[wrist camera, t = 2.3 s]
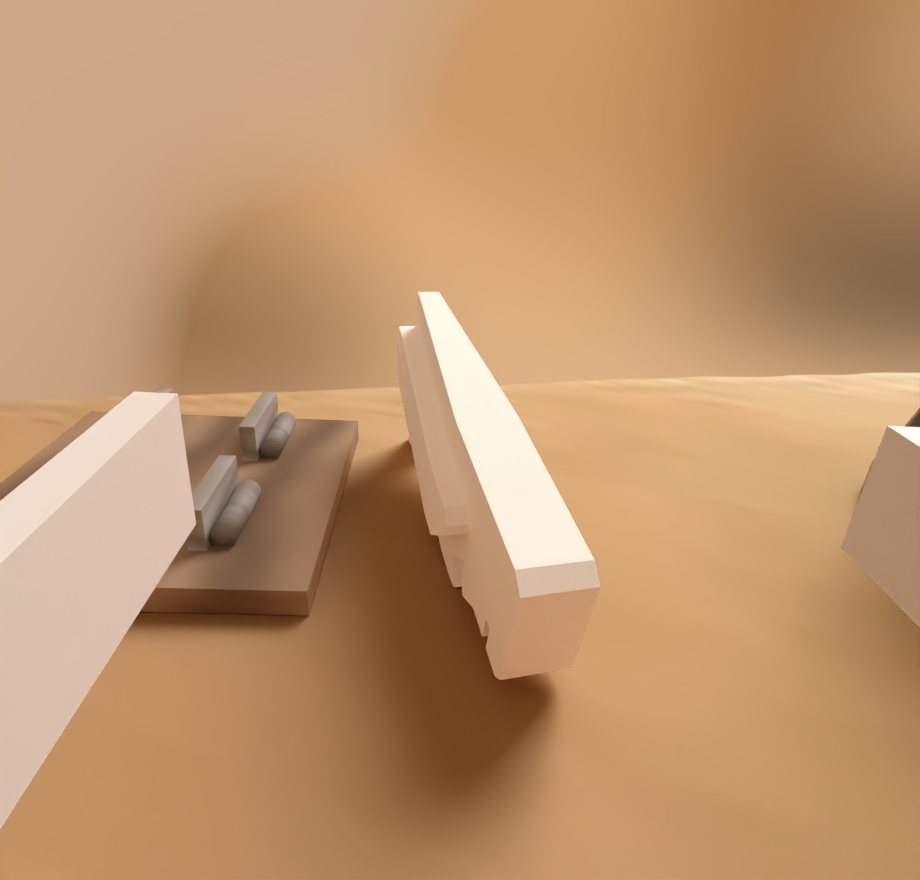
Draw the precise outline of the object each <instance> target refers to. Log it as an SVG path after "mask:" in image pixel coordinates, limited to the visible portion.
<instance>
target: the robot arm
mask: <svg viewBox="0 0 920 880" xmlns="http://www.w3.org/2000/svg"><path fill="white" fill-rule="evenodd" d="M195 525H196V519H195V512H194V505H193V498H192V491H191V484H190V477H189V470H188V463H187V456H186V449H185V442H184V435H183V428H182V421H181V414H180V407H179V400H178V394H174V393H153V392H133V393H132V394H130V395H129V396H128V397H127V398H125V399H124V400H123V401H122V402H121V403H119V404H118V405H117V406H116V407H114V408H113V409H112V410H111V411H110V412H108V413H107V414H106V415H105V416H103V417H102V418H101V419H100V420H99V421H97V422H96V423H95V424H94V425H92V426H91V427H90V428H89V429H88V430H86V431H85V432H84V433H83V434H81V435H80V436H79V437H78V438H77V439H75V440H74V441H73V442H72V443H70V444H69V445H68V446H67V447H65V448H64V449H63V450H62V451H61V452H59V453H58V454H57V455H56V456H54V457H53V458H52V459H51V460H50V461H48V462H47V463H46V464H45V465H43V466H42V467H41V468H40V469H39V470H37V471H36V472H35V473H34V474H32V475H31V476H30V477H29V478H28V479H26V480H25V481H24V482H23V483H21V484H20V485H19V486H18V487H17V488H15V489H14V490H13V491H12V492H10V493H9V494H8V495H7V496H6V497H4V498H3V499H2V500H1V501H0V829H1V827H2V826H3V824H4V822H5V821H6V819H7V818H8V816H9V815H10V813H11V812H12V810H13V808H14V807H15V805H16V804H17V802H18V801H19V799H20V798H21V796H22V794H23V793H24V791H25V790H26V788H27V787H28V785H29V784H30V782H31V780H32V779H33V777H34V776H35V774H36V773H37V771H38V769H39V768H40V766H41V765H42V763H43V762H44V760H45V759H46V757H47V755H48V754H49V752H50V751H51V749H52V748H53V746H54V745H55V743H56V741H57V740H58V738H59V737H60V735H61V734H62V732H63V731H64V729H65V727H66V726H67V724H68V723H69V721H70V720H71V718H72V717H73V715H74V713H75V712H76V710H77V709H78V707H79V706H80V704H81V703H82V701H83V699H84V698H85V696H86V695H87V693H88V692H89V690H90V689H91V687H92V685H93V684H94V682H95V681H96V679H97V678H98V676H99V674H100V673H101V671H102V670H103V668H104V667H105V665H106V664H107V662H108V660H109V659H110V657H111V656H112V654H113V653H114V651H115V650H116V648H117V646H118V645H119V643H120V642H121V640H122V639H123V637H124V636H125V634H126V632H127V631H128V629H129V628H130V626H131V625H132V623H133V622H134V620H135V618H136V617H137V615H138V614H139V612H140V611H141V609H142V608H143V606H144V604H145V603H146V601H147V600H148V598H149V597H150V595H151V593H152V592H153V590H154V589H155V587H156V586H157V584H158V583H159V581H160V579H161V578H162V576H163V575H164V573H165V572H166V570H167V569H168V567H169V565H170V564H171V562H172V561H173V559H174V558H175V556H176V555H177V553H178V551H179V550H180V548H181V547H182V545H183V544H184V542H185V541H186V539H187V537H188V536H189V534H190V533H191V531H192V530H193V528H194V527H195ZM841 548H842V549H843V550H844V551H845V552H846V553H847V554H848V555H849V556H850V557H851V558H852V559H853V560H854V561H855V562H856V563H857V564H858V565H859V566H860V567H861V568H862V569H863V570H864V571H865V572H866V573H867V574H868V575H869V576H870V577H871V578H872V579H873V581H874V582H875V583H876V584H877V585H878V586H879V587H880V588H881V589H882V590H883V591H884V592H885V593H886V594H887V595H888V596H889V597H890V598H891V599H892V600H893V601H894V602H895V603H896V604H897V605H898V606H899V607H900V608H901V609H902V610H903V611H904V612H905V613H906V614H907V615H908V616H909V618H910V619H911V620H912V621H913V622H914V623H915V624H916V625H917V626H918V627H919V628H920V408H919V409H918V410H917V412H916V413H915V414H914V415H913V417H912V418H911V419H910V420H909V421H908V423H907V424H906V425H905V426H887V428H886V430H885V433H884V436H883V438H882V441H881V444H880V446H879V449H878V451H877V454H876V457H875V458H874V460H873V462H872V464H871V466H870V468H869V471H868V474H867V476H866V479H865V482H864V484H863V487H862V493H861V496H860V499H859V501H858V504H857V506H856V509H855V512H854V514H853V517H852V520H851V522H850V525H849V527H848V530H847V533H846V535H845V538H844V540H843V543H842V546H841Z"/></svg>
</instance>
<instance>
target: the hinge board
mask: <svg viewBox="0 0 920 880" xmlns="http://www.w3.org/2000/svg"><path fill="white" fill-rule="evenodd" d="M154 393H173V391H172V389H163V388H158V389H157V390H156V391H155V392H154ZM107 413H108V412H90V413H89V414H87V415H86V416H85V417H84V418H82V419H81V420H80V421H79V422H77V423H76V424H75V425H74V426H72V427H71V428H70V429H69V430H67V431H66V432H65V433H63V434H62V435H61V436H60V437H58V438H57V439H56V440H55V441H53V442H52V443H51V444H50V445H48V446H47V447H46V448H45V449H43V450H42V451H41V452H40V453H38V454H37V455H36V456H34V457H33V458H32V459H31V460H29V461H28V462H27V463H26V464H24V465H23V466H22V467H21V468H19V469H18V470H17V471H16V472H14V473H13V474H12V475H11V476H9V477H8V478H7V479H6V480H4V481H3V482H2V483H0V501H1V500H2V499H3V498H4V497H6V496H7V495H8V494H9V493H10V492H12V491H13V490H14V489H15V488H17V487H18V486H19V485H20V484H21V483H23V482H24V481H25V480H26V479H28V478H29V477H30V476H31V475H32V474H34V473H35V472H36V471H37V470H39V469H40V468H41V467H42V466H43V465H45V464H46V463H47V462H48V461H50V460H51V459H52V458H53V457H54V456H56V455H57V454H58V453H59V452H61V451H62V450H63V449H64V448H65V447H67V446H68V445H69V444H70V443H72V442H73V441H74V440H75V439H77V438H78V437H79V436H80V435H81V434H83V433H84V432H85V431H86V430H88V429H89V428H90V427H91V426H92V425H94V424H95V423H96V422H97V421H99V420H100V419H101V418H102V417H103V416H105V415H106V414H107ZM181 421H182V428H183V435H184V442H185V449H186V456H187V463H188V470H189V477H190V484H191V491H192V498H193V505H194V512H195V519H196V525H195V527H194V528H193V530H192V531H191V533H190V534H189V536H188V537H187V539H186V541H185V542H184V544H183V545H182V547H181V548H180V550H179V551H178V553H177V555H176V556H175V558H174V559H173V561H172V562H171V564H170V565H169V567H168V569H167V570H166V572H165V573H164V575H163V576H162V578H161V579H160V581H159V583H158V584H157V586H156V587H155V589H154V590H153V592H152V593H151V595H150V597H149V598H148V600H147V601H146V603H145V604H144V606H143V608H142V609H141V611H140V612H178V613H221V614H265V615H309V613H310V610H311V606H312V603H313V599H314V595H315V592H316V588H317V585H318V581H319V577H320V574H321V570H322V567H323V563H324V560H325V556H326V552H327V549H328V545H329V542H330V538H331V534H332V531H333V527H334V524H335V520H336V517H337V513H338V509H339V506H340V502H341V499H342V495H343V491H344V488H345V484H346V481H347V477H348V474H349V470H350V466H351V463H352V459H353V456H354V452H355V448H356V445H357V441H358V421H340V420H312V419H295V417H294V416H293V415H292V414H291V413H288V412H283V413H281V414H279V415H278V405H277V393H269V392H263V393H262V394H261V395H260V397H259V398H258V400H257V401H256V403H255V404H254V405H253V407H252V408H251V410H250V411H249V413H248V414H247V416H246V417H229V416H201V415H181Z"/></svg>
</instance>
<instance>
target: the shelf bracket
mask: <svg viewBox="0 0 920 880" xmlns="http://www.w3.org/2000/svg"><path fill="white" fill-rule="evenodd" d="M397 375H398V380H399V385H400V390H401V395H402V401H403V406H404V411H405V416H406V421H407V426H408V431H409V443H410V444H411V447H412V452H413V457H414V462H415V467H416V472H417V478H418V483H419V488H420V493H421V498H422V503H423V508H424V513H425V517H426V521H427V524H428V528H429V532H430V535H438V538H439V543H440V547H441V551H442V554H443V558H444V561H445V564H446V568H447V571H448V574H449V577H450V579H451V582H452V585H453V587H462V596H463V597H464V598H465V600H466V601H467V602H468V603H469V604H470V605H471V606H472V608H473V609H474V612H475V616H476V619H477V622H478V625H479V628H480V632H481V635H482V637H483V636H488V639H487V644H486V651H487V654H488V657H489V660H490V663H491V667H492V670H493V673H494V676H495V677H496V678H498V679H499V680H504V679H510V678H516V677H522V676H528V675H534V674H539V673H545V672H551V671H557V670H563V669H569V668H572V665H573V663H574V660H575V657H576V654H577V652H578V649H579V646H580V643H581V640H582V638H583V635H584V632H585V629H586V627H587V624H588V621H589V618H590V616H591V613H592V610H593V607H594V604H595V602H596V599H597V596H598V593H599V591H600V588H601V586H600V581H599V577H598V573H597V569H596V564H595V560H594V558H593V556H592V554H591V552H590V550H589V549H588V547H587V545H586V543H585V541H584V539H583V537H582V535H581V533H580V532H579V530H578V528H577V526H576V524H575V522H574V520H573V518H572V516H571V515H570V513H569V511H568V509H567V507H566V505H565V503H564V501H563V500H562V498H561V496H560V494H559V492H558V490H557V488H556V486H555V484H554V483H553V481H552V479H551V477H550V475H549V473H548V471H547V469H546V468H545V466H544V464H543V462H542V460H541V458H540V456H539V454H538V452H537V451H536V449H535V447H534V445H533V443H532V441H531V439H530V437H529V435H528V434H527V432H526V430H525V428H524V426H523V424H522V422H521V420H520V419H519V417H518V415H517V413H516V412H515V410H514V409H513V407H512V406H511V404H510V403H509V401H508V399H507V398H506V396H505V395H504V393H503V392H502V390H501V388H500V387H499V385H498V384H497V382H496V381H495V379H494V377H493V376H492V374H491V373H490V371H489V370H488V368H487V367H486V365H485V363H484V362H483V360H482V359H481V357H480V356H479V354H478V352H477V351H476V349H475V348H474V346H473V345H472V343H471V342H470V340H469V338H468V337H467V335H466V334H465V332H464V331H463V329H462V327H461V326H460V324H459V323H458V321H457V320H456V318H455V316H454V315H453V313H452V312H451V310H450V309H449V307H448V305H447V304H446V302H445V301H444V299H443V298H442V296H441V295H440V293H439V292H418V306H417V320H416V326H400V327H399V344H398V365H397Z"/></svg>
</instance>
